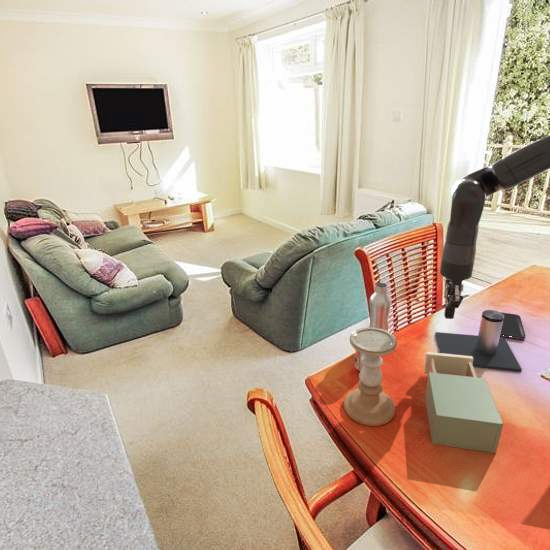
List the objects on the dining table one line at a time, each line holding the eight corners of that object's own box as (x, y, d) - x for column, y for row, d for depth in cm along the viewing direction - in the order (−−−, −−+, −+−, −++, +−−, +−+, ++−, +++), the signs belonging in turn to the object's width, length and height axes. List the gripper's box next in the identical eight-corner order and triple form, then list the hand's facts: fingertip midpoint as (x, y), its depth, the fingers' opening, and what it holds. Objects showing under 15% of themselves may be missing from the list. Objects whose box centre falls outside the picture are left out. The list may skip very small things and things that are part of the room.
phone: (519, 314, 127) (526, 337, 115) (519, 317, 128) (525, 340, 115) (493, 311, 130) (496, 332, 118) (492, 314, 131) (496, 335, 118)
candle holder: (405, 412, 91) (413, 342, 83) (368, 435, 85) (373, 361, 77) (369, 384, 100) (373, 319, 92) (333, 403, 95) (334, 335, 87)
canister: (493, 345, 112) (501, 310, 108) (498, 356, 108) (506, 320, 103) (473, 343, 114) (480, 309, 109) (477, 354, 109) (484, 318, 104)
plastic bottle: (378, 350, 114) (383, 291, 107) (362, 340, 120) (365, 284, 112) (393, 343, 118) (398, 285, 110) (376, 334, 123) (380, 278, 115)
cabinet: (425, 398, 95) (428, 372, 92) (479, 405, 92) (485, 378, 88) (432, 443, 82) (436, 415, 79) (496, 453, 79) (503, 424, 76)
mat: (504, 339, 116) (504, 337, 116) (521, 371, 102) (522, 369, 102) (435, 334, 121) (435, 331, 121) (442, 363, 107) (442, 361, 107)
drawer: (423, 368, 104) (425, 349, 102) (467, 372, 102) (471, 353, 99) (429, 404, 91) (432, 384, 89) (480, 411, 88) (485, 390, 86)
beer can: (356, 361, 110) (357, 326, 105) (372, 364, 108) (375, 328, 104) (353, 371, 106) (354, 335, 101) (370, 374, 104) (372, 337, 100)
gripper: (480, 268, 89) (468, 331, 95) (468, 250, 100) (459, 307, 107) (446, 267, 90) (437, 328, 97) (438, 249, 102) (431, 305, 109)
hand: (448, 317), depth 102 cm, fingers closed
